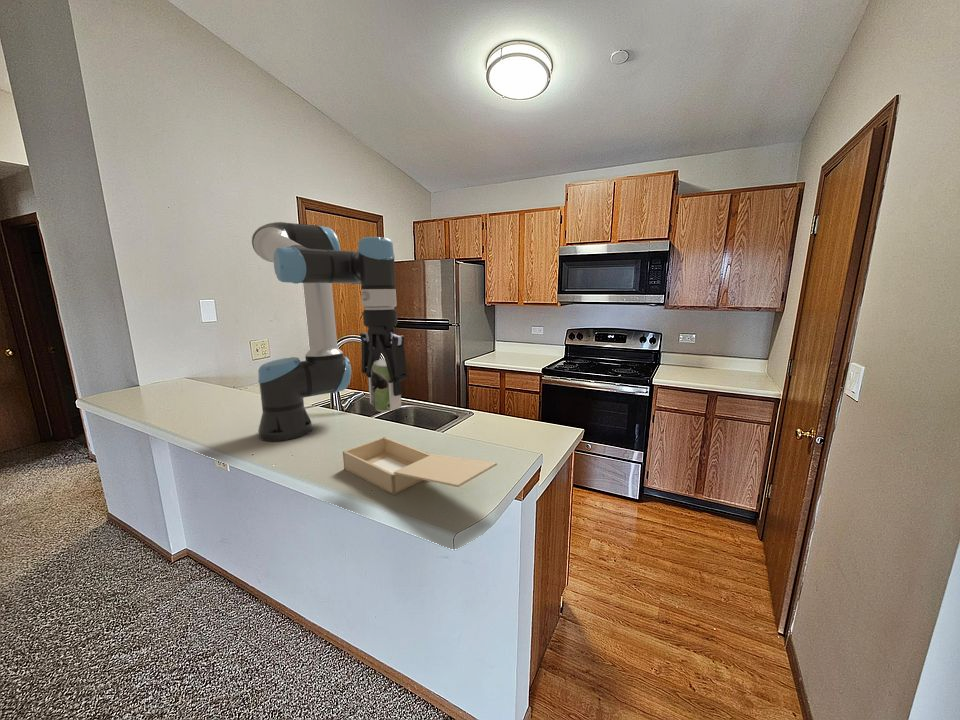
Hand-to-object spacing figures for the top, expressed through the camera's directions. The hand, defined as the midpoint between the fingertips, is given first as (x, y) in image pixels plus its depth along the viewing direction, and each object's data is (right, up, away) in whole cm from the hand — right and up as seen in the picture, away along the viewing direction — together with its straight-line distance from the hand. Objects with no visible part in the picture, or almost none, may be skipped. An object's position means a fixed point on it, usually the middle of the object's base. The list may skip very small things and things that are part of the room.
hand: (385, 405), depth 90 cm
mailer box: (0, -17, +3) cm, 17 cm away
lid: (+15, -12, -11) cm, 22 cm away
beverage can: (0, -1, 0) cm, 1 cm away
